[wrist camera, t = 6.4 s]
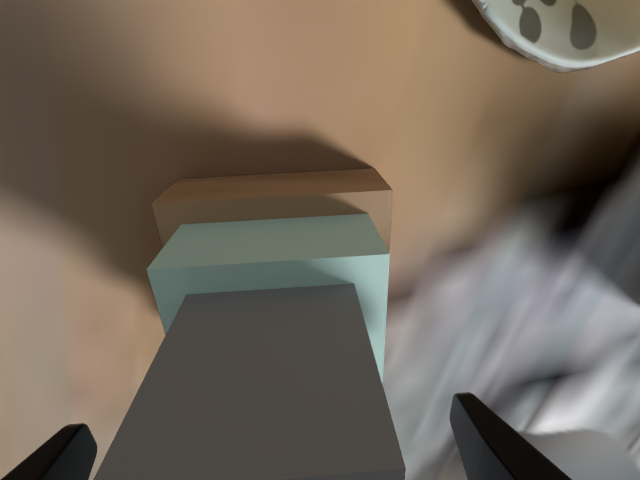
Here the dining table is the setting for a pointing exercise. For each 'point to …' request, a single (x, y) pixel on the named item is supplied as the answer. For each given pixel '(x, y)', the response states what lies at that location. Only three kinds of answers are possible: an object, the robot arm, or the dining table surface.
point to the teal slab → (276, 263)
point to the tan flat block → (275, 199)
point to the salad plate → (565, 30)
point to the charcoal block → (261, 394)
